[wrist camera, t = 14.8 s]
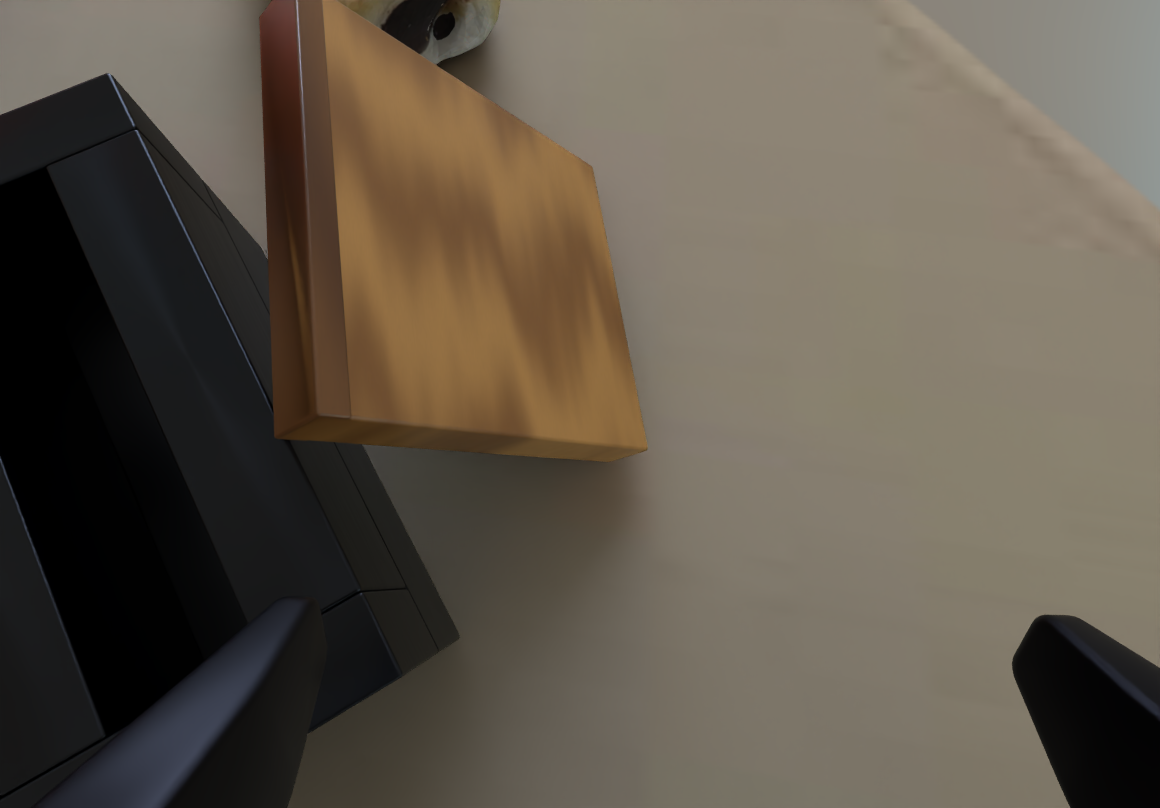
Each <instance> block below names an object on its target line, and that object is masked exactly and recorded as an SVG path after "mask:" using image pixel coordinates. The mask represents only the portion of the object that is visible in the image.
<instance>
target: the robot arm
mask: <svg viewBox="0 0 1160 808" xmlns="http://www.w3.org/2000/svg"><path fill="white" fill-rule="evenodd" d="M326 658H327V639H326V635H325V630H324V625H323V620H322V615H321V610H320V606H319V603H318V601H317V600H316V599H315V598H313V597H301V596H284V597H281V598H279V599H277V600H276V601H275V602H273V603H272V604H271V605H270V606H269V607H267V608H266V609H265V610H264V611H263V612H261V613H260V614H259V615H258V616H257V617H256V618H254V619H253V620H252V621H251V622H250V623H248V624H247V625H246V626H245V627H244V628H243V629H241V630H240V631H239V632H238V633H237V634H235V635H234V636H233V637H232V638H231V639H230V640H228V641H227V642H226V643H225V644H224V645H222V646H221V647H220V648H219V649H218V650H216V651H215V652H214V653H213V654H212V655H211V656H209V657H208V658H207V659H206V660H205V661H203V662H202V663H201V664H200V665H199V666H198V667H196V668H195V669H194V670H193V671H192V672H190V673H189V674H188V675H187V676H186V677H185V678H183V679H182V680H181V681H180V682H179V683H177V684H176V685H175V686H174V687H173V688H171V689H170V690H169V691H168V692H167V693H166V694H164V695H163V696H162V697H161V698H160V699H158V700H157V701H156V702H155V703H154V704H153V705H151V706H150V707H149V708H148V709H147V710H145V711H144V712H143V713H142V714H141V715H140V716H138V717H137V718H136V719H135V720H134V721H132V722H131V723H130V724H129V725H128V726H126V727H125V728H124V729H123V730H122V731H121V732H119V733H118V734H117V735H116V736H115V737H113V738H112V739H111V740H110V741H109V742H108V743H106V744H105V745H104V746H103V747H102V748H100V749H99V750H98V751H97V752H96V753H95V754H93V755H92V756H91V757H90V758H89V759H87V760H86V761H85V762H84V763H83V764H81V765H80V766H79V767H78V768H77V769H76V770H74V771H73V772H72V773H71V774H70V775H68V776H67V777H66V778H65V779H64V780H63V781H61V782H60V783H59V784H58V785H57V786H55V787H54V788H53V789H52V790H51V791H50V792H48V793H47V794H46V795H45V796H44V797H42V798H41V799H40V800H39V801H38V802H37V803H35V804H34V805H33V806H32V807H31V808H287V806H288V803H289V800H290V797H291V794H292V791H293V787H294V784H295V780H296V777H297V773H298V769H299V766H300V762H301V758H302V754H303V750H304V746H305V742H306V738H307V734H308V730H309V726H310V722H311V719H312V715H313V711H314V707H315V703H316V699H317V695H318V691H319V687H320V683H321V679H322V675H323V672H324V668H325V664H326ZM1012 669H1013V674H1014V678H1015V680H1016V683H1017V685H1018V687H1019V690H1020V692H1021V694H1022V697H1023V699H1024V702H1025V704H1026V706H1027V709H1028V711H1029V713H1030V716H1031V718H1032V720H1033V723H1034V725H1035V728H1036V730H1037V732H1038V735H1039V737H1040V739H1041V742H1042V744H1043V746H1044V749H1045V751H1046V754H1047V756H1048V758H1049V761H1050V763H1051V765H1052V768H1053V770H1054V772H1055V775H1056V777H1057V780H1058V782H1059V784H1060V786H1061V788H1062V791H1063V793H1064V795H1065V797H1066V800H1067V802H1068V804H1069V806H1070V808H1160V668H1159V667H1157V666H1156V665H1154V664H1153V663H1151V662H1149V661H1148V660H1146V659H1145V658H1143V657H1141V656H1140V655H1138V654H1136V653H1135V652H1133V651H1132V650H1130V649H1128V648H1127V647H1125V646H1124V645H1122V644H1120V643H1119V642H1117V641H1115V640H1114V639H1112V638H1111V637H1109V636H1107V635H1106V634H1104V633H1103V632H1101V631H1099V630H1098V629H1096V628H1095V627H1093V626H1091V625H1090V624H1088V623H1086V622H1085V621H1083V620H1081V619H1080V618H1077V617H1074V616H1070V615H1041V616H1039V617H1037V618H1036V619H1035V620H1034V621H1033V622H1032V624H1031V626H1030V628H1029V630H1028V631H1027V633H1026V635H1025V637H1024V638H1023V640H1022V642H1021V644H1020V646H1019V647H1018V649H1017V651H1016V653H1015V654H1014V657H1013V661H1012Z"/></svg>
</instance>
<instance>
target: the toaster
mask: <svg viewBox="0 0 1160 808" xmlns="http://www.w3.org/2000/svg"><path fill="white" fill-rule="evenodd" d="M284 596H301V597H313V598H315V599H316V600H317V601H318V603H319V606H320V610H321V615H322V620H323V625H324V630H325V635H326V639H327V658H326V664H325V668H324V672H323V675H322V679H321V683H320V687H319V691H318V695H317V699H316V703H315V707H314V711H313V715H312V719H311V722H310V726H309V730H308V734H309V733H310V732H312V731H313V730H315V729H317V728H318V727H320V726H322V725H323V724H325V723H327V722H328V721H330V720H332V719H333V718H335V717H337V716H338V715H340V714H342V713H343V712H345V711H347V710H348V709H350V708H351V707H353V706H355V705H356V704H358V703H360V702H361V701H363V700H365V699H366V698H368V697H370V696H371V695H373V694H375V693H376V692H378V691H380V690H381V689H383V688H384V687H386V686H388V685H389V684H391V683H393V682H394V681H396V680H398V679H399V678H401V677H402V676H404V675H405V674H407V673H408V672H410V671H411V670H413V669H414V668H416V667H417V666H419V665H420V664H422V663H424V662H425V661H427V660H428V659H430V658H431V657H433V656H434V655H436V654H437V653H439V652H440V651H442V650H443V649H445V648H446V647H448V646H449V645H451V644H452V643H454V642H455V641H457V640H458V639H459V638H460V635H459V633H458V631H457V629H456V627H455V625H454V623H453V621H452V619H451V617H450V615H449V613H448V611H447V609H446V608H445V606H444V604H443V602H442V600H441V598H440V596H439V594H438V592H437V590H436V588H435V586H434V584H433V582H432V580H431V578H430V576H429V574H428V572H427V570H426V569H425V567H424V565H423V563H422V561H421V559H420V557H419V555H418V553H417V551H416V549H415V547H414V545H413V543H412V541H411V539H410V537H409V535H408V533H407V532H406V530H405V528H404V526H403V524H402V522H401V520H400V518H399V516H398V514H397V512H396V510H395V508H394V506H393V504H392V502H391V500H390V498H389V496H388V494H387V493H386V491H385V489H384V487H383V485H382V483H381V481H380V479H379V477H378V475H377V473H376V471H375V469H374V467H373V465H372V463H371V461H370V459H369V457H368V455H367V454H366V452H365V450H364V448H363V446H362V444H352V443H338V442H325V441H311V440H307V441H299V440H285V439H276V438H275V437H274V412H273V384H272V356H271V329H270V301H269V273H268V261H267V259H266V257H265V255H264V253H263V251H262V249H261V247H260V246H259V245H258V243H257V242H256V241H255V240H254V239H253V238H252V237H251V235H250V234H249V233H248V232H247V231H246V230H245V228H244V227H243V226H242V225H241V224H240V223H239V221H238V220H237V219H236V218H235V217H234V216H233V215H232V213H231V212H230V211H229V210H228V209H227V208H226V206H225V205H224V204H223V203H222V202H221V201H220V199H219V198H218V197H217V196H216V195H215V194H214V193H213V191H212V190H211V189H210V188H209V187H208V186H207V184H206V183H205V182H204V181H203V180H202V179H201V178H200V176H199V175H198V174H197V173H196V172H195V171H194V169H193V168H192V167H191V166H190V165H189V164H188V163H187V161H186V160H185V159H184V158H183V157H182V156H181V154H180V153H179V152H178V151H177V150H176V149H175V147H174V146H173V145H172V144H171V143H170V142H169V141H168V139H167V138H166V137H165V136H164V135H163V134H162V132H161V131H160V130H159V129H158V128H157V127H156V126H155V124H154V123H153V122H152V121H151V120H150V119H149V117H148V116H147V115H146V114H145V113H144V112H143V110H142V109H141V108H140V107H139V106H138V105H137V104H136V102H135V101H134V100H133V99H132V98H131V97H130V95H129V94H128V93H127V92H126V91H125V90H124V88H123V87H122V86H121V85H120V84H119V83H118V82H117V80H116V79H115V78H114V77H113V76H112V75H111V74H109V73H106V74H104V75H101V76H98V77H96V78H93V79H91V80H88V81H86V82H83V83H81V84H78V85H76V86H73V87H70V88H68V89H65V90H63V91H60V92H58V93H55V94H53V95H50V96H48V97H45V98H42V99H40V100H37V101H35V102H32V103H30V104H27V105H25V106H22V107H20V108H17V109H14V110H12V111H9V112H7V113H4V114H2V115H0V808H31V807H32V806H33V805H34V804H35V803H37V802H38V801H39V800H40V799H41V798H42V797H44V796H45V795H46V794H47V793H48V792H50V791H51V790H52V789H53V788H54V787H55V786H57V785H58V784H59V783H60V782H61V781H63V780H64V779H65V778H66V777H67V776H68V775H70V774H71V773H72V772H73V771H74V770H76V769H77V768H78V767H79V766H80V765H81V764H83V763H84V762H85V761H86V760H87V759H89V758H90V757H91V756H92V755H93V754H95V753H96V752H97V751H98V750H99V749H100V748H102V747H103V746H104V745H105V744H106V743H108V742H109V741H110V740H111V739H112V738H113V737H115V736H116V735H117V734H118V733H119V732H121V731H122V730H123V729H124V728H125V727H126V726H128V725H129V724H130V723H131V722H132V721H134V720H135V719H136V718H137V717H138V716H140V715H141V714H142V713H143V712H144V711H145V710H147V709H148V708H149V707H150V706H151V705H153V704H154V703H155V702H156V701H157V700H158V699H160V698H161V697H162V696H163V695H164V694H166V693H167V692H168V691H169V690H170V689H171V688H173V687H174V686H175V685H176V684H177V683H179V682H180V681H181V680H182V679H183V678H185V677H186V676H187V675H188V674H189V673H190V672H192V671H193V670H194V669H195V668H196V667H198V666H199V665H200V664H201V663H202V662H203V661H205V660H206V659H207V658H208V657H209V656H211V655H212V654H213V653H214V652H215V651H216V650H218V649H219V648H220V647H221V646H222V645H224V644H225V643H226V642H227V641H228V640H230V639H231V638H232V637H233V636H234V635H235V634H237V633H238V632H239V631H240V630H241V629H243V628H244V627H245V626H246V625H247V624H248V623H250V622H251V621H252V620H253V619H254V618H256V617H257V616H258V615H259V614H260V613H261V612H263V611H264V610H265V609H266V608H267V607H269V606H270V605H271V604H272V603H273V602H275V601H276V600H277V599H279V598H281V597H284Z"/></svg>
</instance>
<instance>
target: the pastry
mask: <svg viewBox="0 0 1160 808" xmlns="http://www.w3.org/2000/svg"><path fill="white" fill-rule="evenodd" d="M271 1H272V0H271ZM337 1H338V2H340V3H341V4H343V5H344V6H346V7H347V8H349V9H350V10H352V11H354V12H355V13H357V14H358V15H360V16H361V17H363V18H364V19H366V20H367V21H369V22H370V23H372V24H374V25H375V26H377V27H378V28H380V29H381V30H383V31H384V32H386V33H387V34H389V35H390V36H392V37H394V38H395V39H397V40H398V41H400V42H401V43H403V44H404V45H406V46H407V47H409V48H410V49H412V50H414V51H415V52H417V53H418V54H420V55H421V56H423V57H424V58H426V59H427V60H429V61H430V62H432V63H434V64H435V65H436V64H438V63H439V62H440V61H442V60H444V59H447V58H451V57H454V56H457V55H460V54H462V53H464V52H466V51H468V50H470V49H473V48H475V47H476V46H478V45H480V44H482V43H483V42H484V41H485V39H486V38H487V36H488V35H489V33H490V32H491V30H492V28H493V27H494V25H495V23H496V21H497V19H498V14H499V7H500V0H337Z"/></svg>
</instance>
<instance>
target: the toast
mask: <svg viewBox="0 0 1160 808" xmlns="http://www.w3.org/2000/svg"><path fill="white" fill-rule="evenodd" d="M259 23H260V51H261V78H262V106H263V134H264V162H265V190H266V217H267V245H268V273H269V301H270V329H271V356H272V384H273V412H274V437H275V438H276V439H285V440H299V441H307V440H311V441H325V442H338V443H352V444H366V445H380V446H394V447H408V448H422V449H435V450H449V451H463V452H477V453H491V454H505V455H519V456H533V457H546V458H560V459H574V460H588V461H602V462H611V461H614V460H617V459H621V458H624V457H627V456H630V455H634V454H637V453H640V452H644V451H646V450H647V449H648V446H647V441H646V436H645V431H644V426H643V421H642V416H641V411H640V406H639V401H638V395H637V390H636V385H635V380H634V375H633V370H632V365H631V360H630V355H629V350H628V345H627V340H626V335H625V330H624V324H623V319H622V314H621V309H620V304H619V299H618V294H617V289H616V284H615V279H614V274H613V269H612V264H611V258H610V253H609V248H608V243H607V238H606V233H605V228H604V223H603V218H602V213H601V208H600V203H599V198H598V193H597V187H596V182H595V177H594V172H593V168H592V166H590V165H589V164H587V163H586V162H584V161H583V160H581V159H580V158H578V157H577V156H575V155H574V154H572V153H570V152H569V151H567V150H566V149H564V148H563V147H561V146H560V145H558V144H557V143H555V142H554V141H552V140H550V139H549V138H547V137H546V136H544V135H543V134H541V133H540V132H538V131H537V130H535V129H534V128H532V127H530V126H529V125H527V124H526V123H524V122H523V121H521V120H520V119H518V118H517V117H515V116H514V115H512V114H510V113H509V112H507V111H506V110H504V109H503V108H501V107H500V106H498V105H497V104H495V103H494V102H492V101H490V100H489V99H487V98H486V97H484V96H483V95H481V94H480V93H478V92H477V91H475V90H474V89H472V88H470V87H469V86H467V85H466V84H464V83H463V82H461V81H460V80H458V79H457V78H455V77H454V76H452V75H450V74H449V73H447V72H446V71H444V70H443V69H441V68H440V67H438V66H437V65H435V64H434V63H432V62H430V61H429V60H427V59H426V58H424V57H423V56H421V55H420V54H418V53H417V52H415V51H414V50H412V49H410V48H409V47H407V46H406V45H404V44H403V43H401V42H400V41H398V40H397V39H395V38H394V37H392V36H390V35H389V34H387V33H386V32H384V31H383V30H381V29H380V28H378V27H377V26H375V25H374V24H372V23H370V22H369V21H367V20H366V19H364V18H363V17H361V16H360V15H358V14H357V13H355V12H354V11H352V10H350V9H349V8H347V7H346V6H344V5H343V4H341V3H340V2H338V1H337V0H272V1H271V3H270V4H269V5H268V7H267V8H266V9H265V11H264V12H263V13H262V15H261V16H260V17H259Z"/></svg>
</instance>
